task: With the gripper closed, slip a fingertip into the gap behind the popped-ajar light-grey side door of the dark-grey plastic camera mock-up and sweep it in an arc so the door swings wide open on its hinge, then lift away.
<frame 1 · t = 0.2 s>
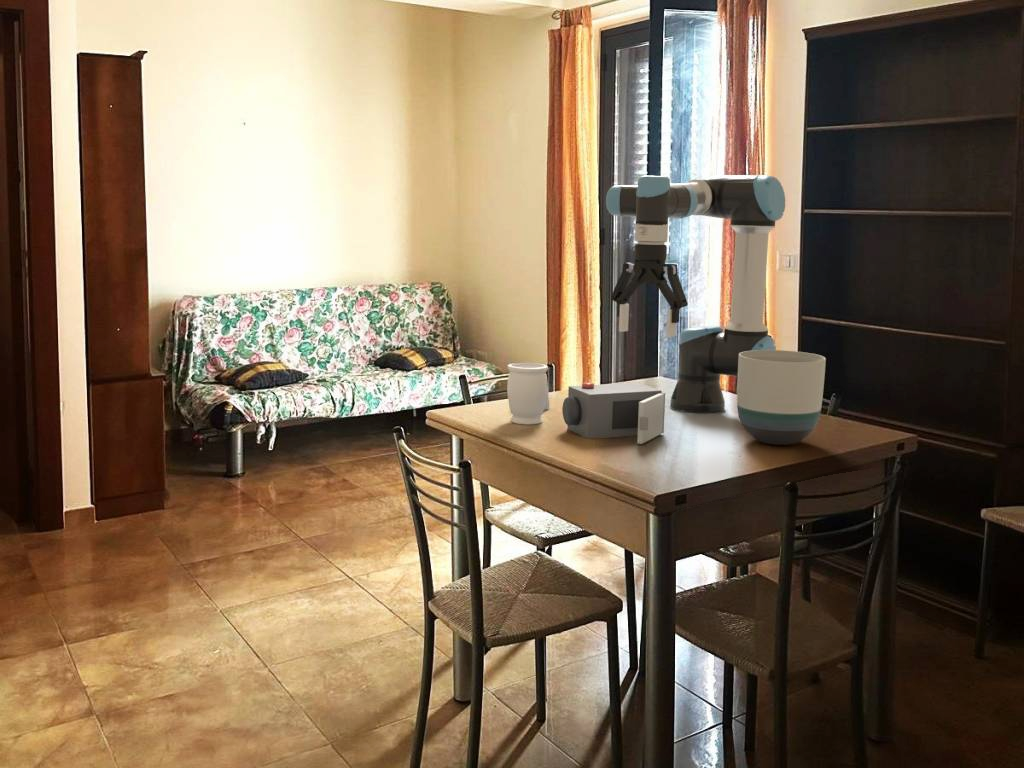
hand: (646, 334, 253), 27 cm above the table, fingers open, 13 cm apart
jar: (526, 422, 281), on the table
planter: (776, 443, 262), on the table
door: (653, 418, 261), point 5 cm above the table, hinge at 40.0°
mug: (533, 410, 298), on the table
camera body: (613, 431, 271), on the table
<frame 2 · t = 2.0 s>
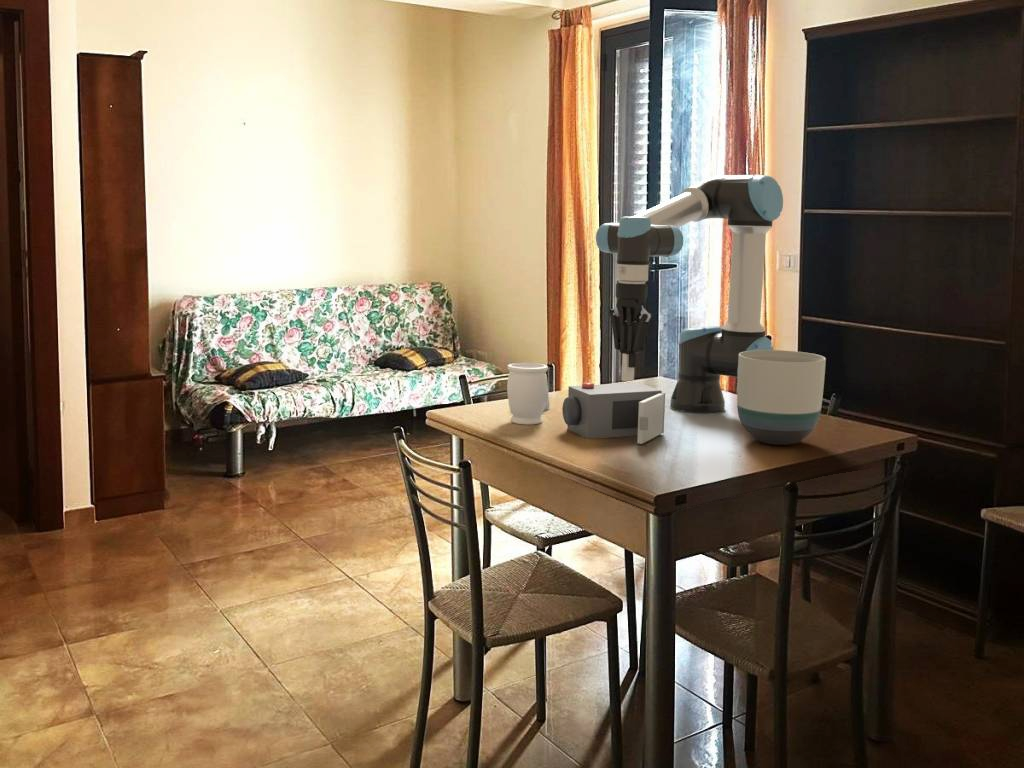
hand: (627, 380, 259), 15 cm above the table, fingers closed
nothing on the table moved.
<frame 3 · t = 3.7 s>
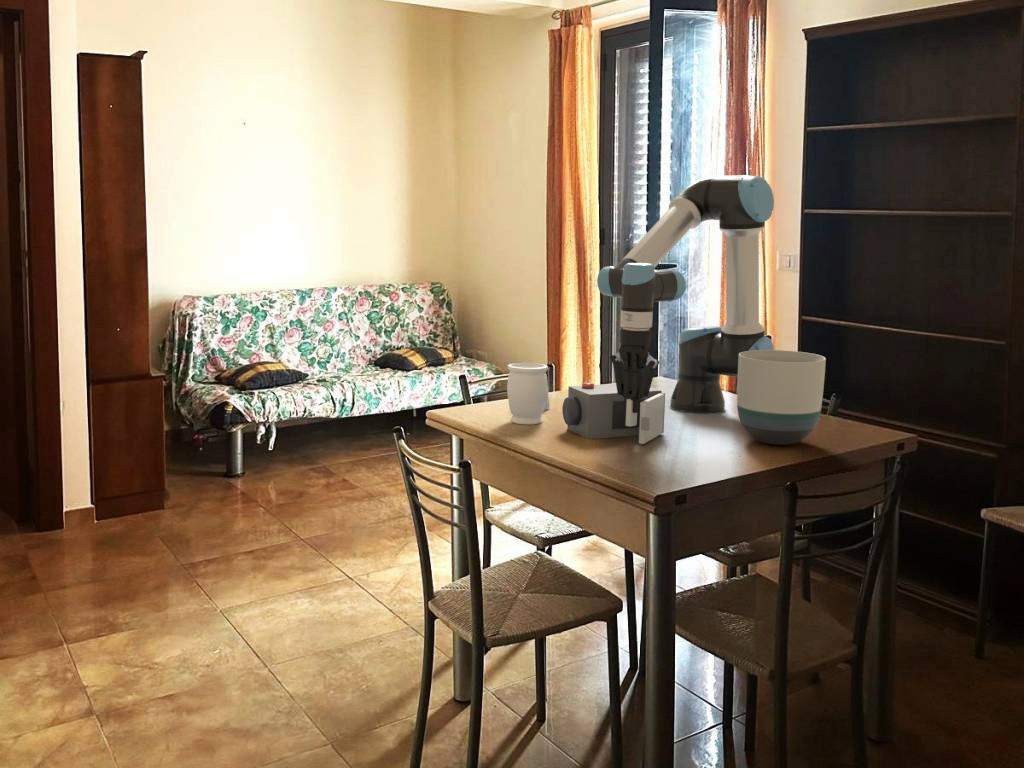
hand: (631, 425, 260), 4 cm above the table, fingers closed
door: (654, 418, 261), point 5 cm above the table, hinge at 41.7°, touching gripper
everything else where it was.
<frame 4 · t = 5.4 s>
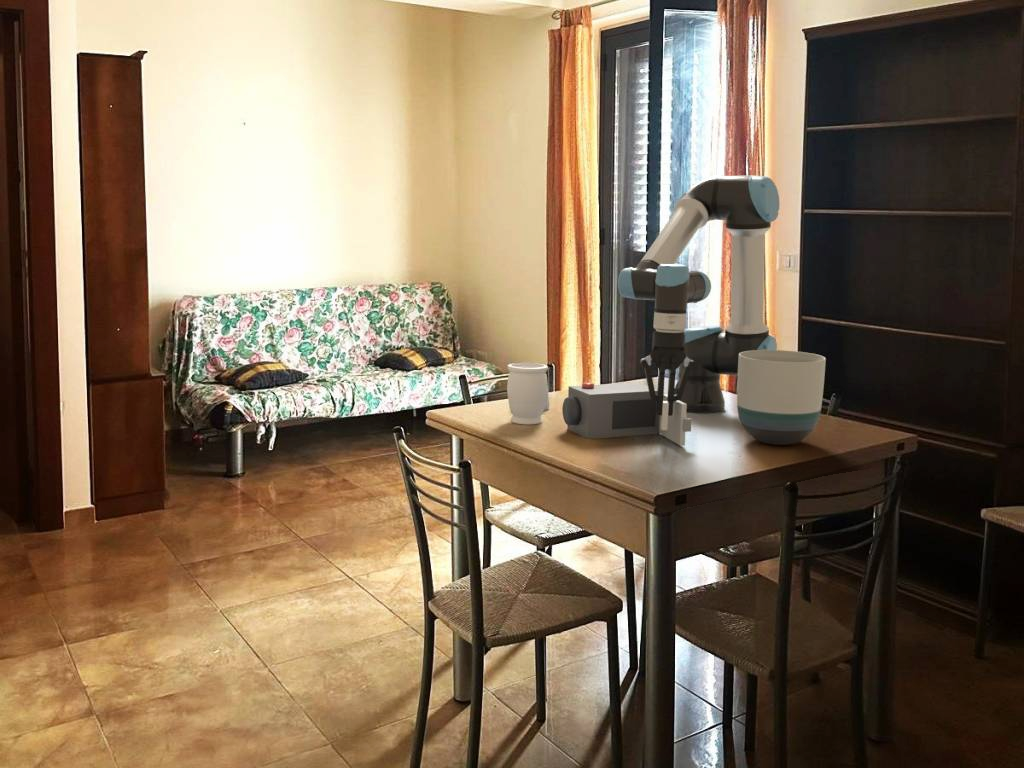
hand: (663, 428, 256), 4 cm above the table, fingers closed
door: (674, 418, 261), point 5 cm above the table, hinge at 81.3°, touching gripper
everything else where it was.
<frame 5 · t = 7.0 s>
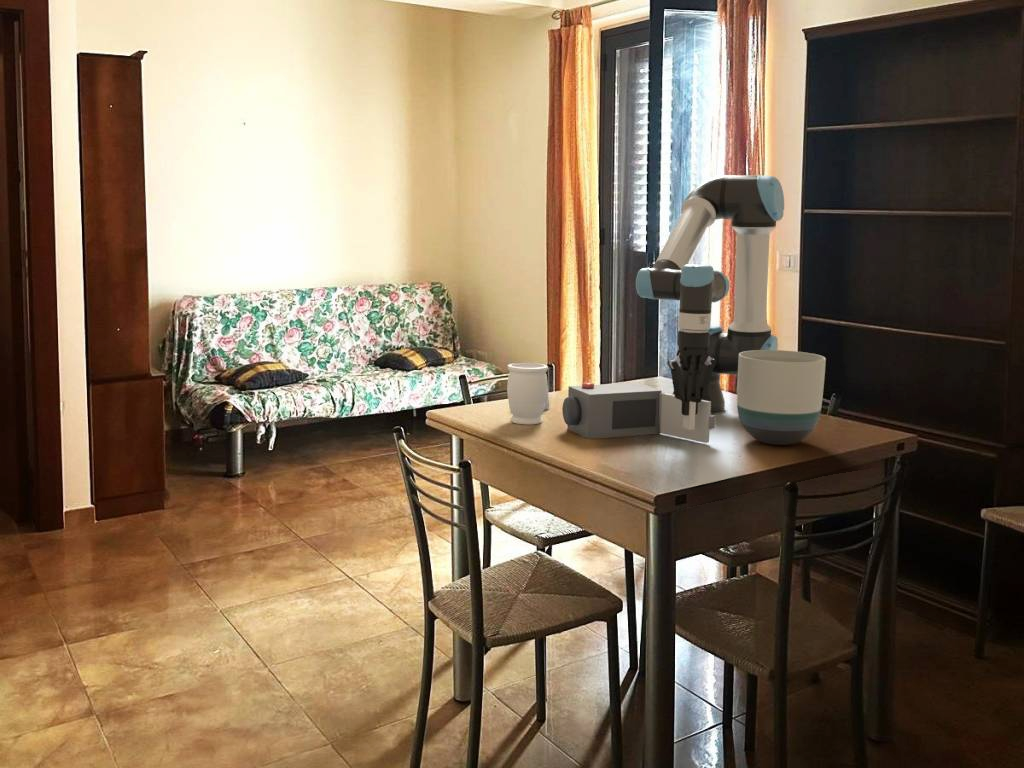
hand: (688, 428, 257), 4 cm above the table, fingers closed
door: (685, 417, 263), point 5 cm above the table, hinge at 111.7°, touching gripper
everything else where it was.
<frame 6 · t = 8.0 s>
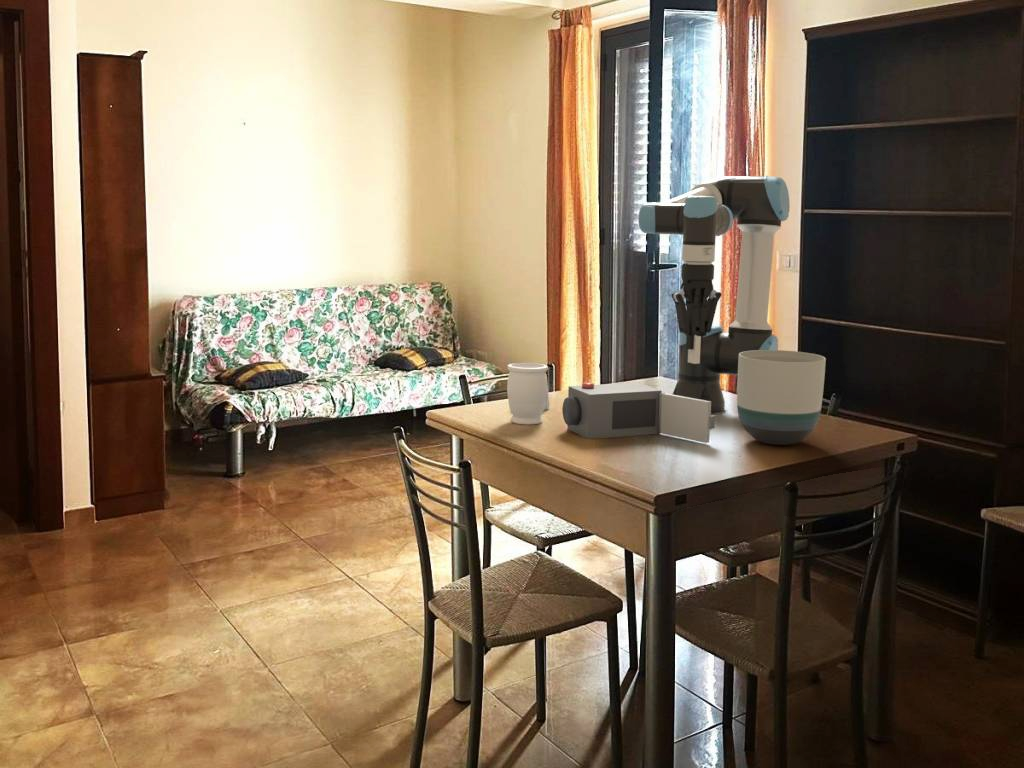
hand: (693, 362, 255), 20 cm above the table, fingers closed
door: (685, 417, 263), point 5 cm above the table, hinge at 112.0°
everything else where it was.
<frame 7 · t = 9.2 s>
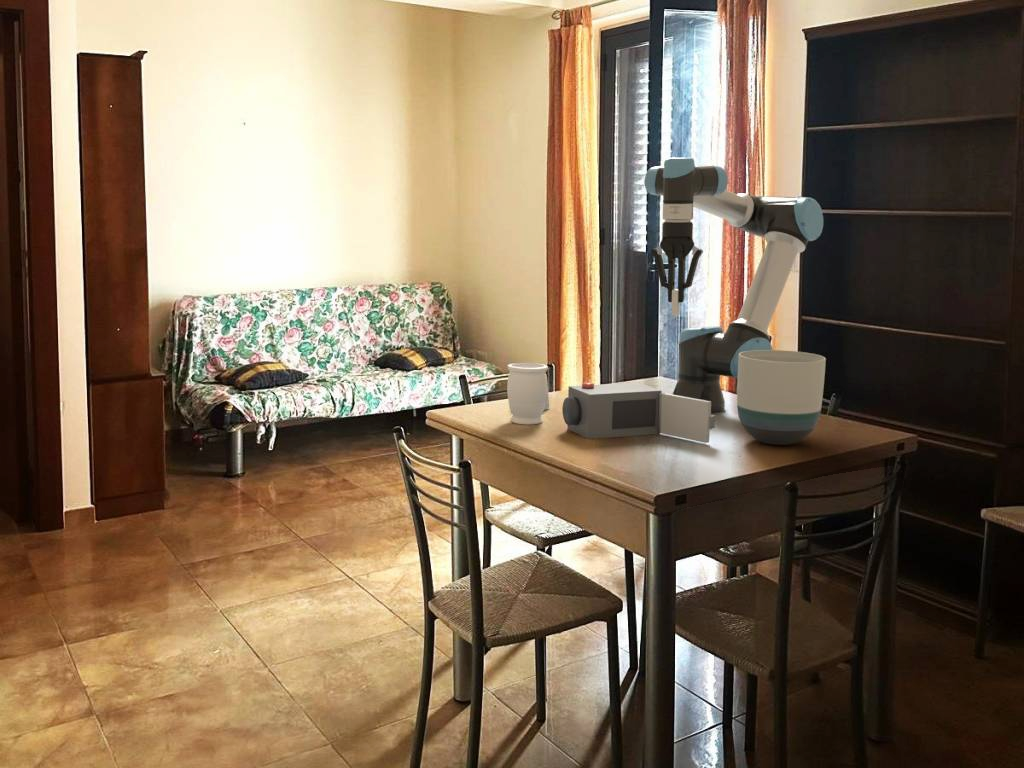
hand: (675, 315, 272), 29 cm above the table, fingers closed
nothing on the table moved.
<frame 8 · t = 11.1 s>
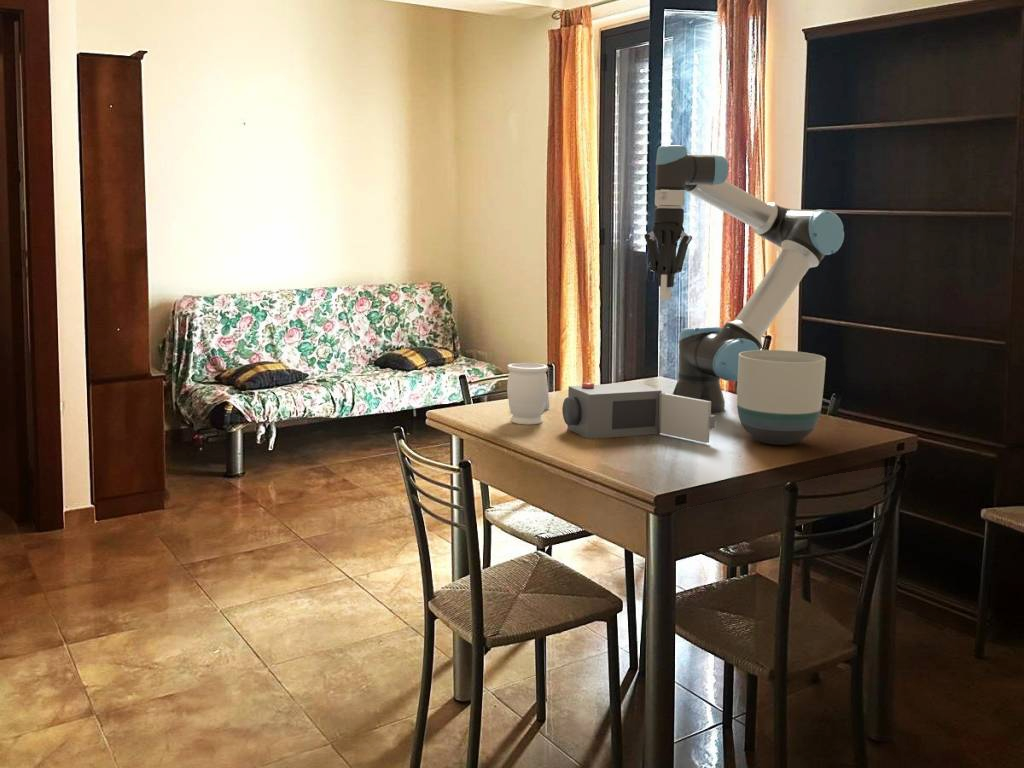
hand: (665, 299, 278), 32 cm above the table, fingers closed
nothing on the table moved.
at the end: door at +112° (first picture: +40°); door touching nothing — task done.
